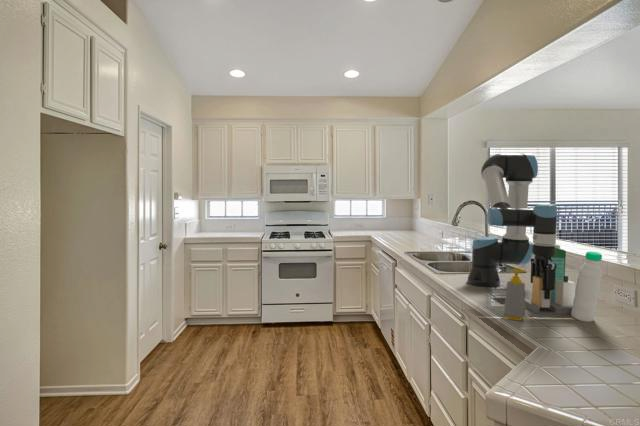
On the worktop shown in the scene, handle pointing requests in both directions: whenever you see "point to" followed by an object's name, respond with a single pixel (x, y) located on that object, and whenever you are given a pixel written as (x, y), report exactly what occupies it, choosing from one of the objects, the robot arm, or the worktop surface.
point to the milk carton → (558, 267)
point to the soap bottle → (515, 298)
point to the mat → (500, 300)
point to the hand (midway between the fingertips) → (541, 304)
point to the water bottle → (587, 288)
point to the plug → (538, 290)
